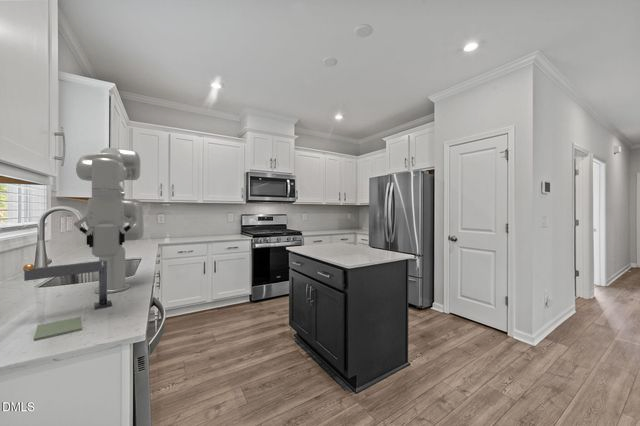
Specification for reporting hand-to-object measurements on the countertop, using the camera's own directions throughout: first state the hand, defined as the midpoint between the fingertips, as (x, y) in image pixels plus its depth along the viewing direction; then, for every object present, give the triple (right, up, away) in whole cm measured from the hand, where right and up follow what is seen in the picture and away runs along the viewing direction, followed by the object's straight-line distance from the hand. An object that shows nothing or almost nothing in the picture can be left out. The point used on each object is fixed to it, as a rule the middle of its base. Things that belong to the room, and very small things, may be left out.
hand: (106, 245), depth 93 cm
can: (0, -4, 0) cm, 4 cm away
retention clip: (-14, -23, +2) cm, 27 cm away
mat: (-6, -24, -11) cm, 27 cm away
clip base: (-8, -24, +9) cm, 27 cm away
